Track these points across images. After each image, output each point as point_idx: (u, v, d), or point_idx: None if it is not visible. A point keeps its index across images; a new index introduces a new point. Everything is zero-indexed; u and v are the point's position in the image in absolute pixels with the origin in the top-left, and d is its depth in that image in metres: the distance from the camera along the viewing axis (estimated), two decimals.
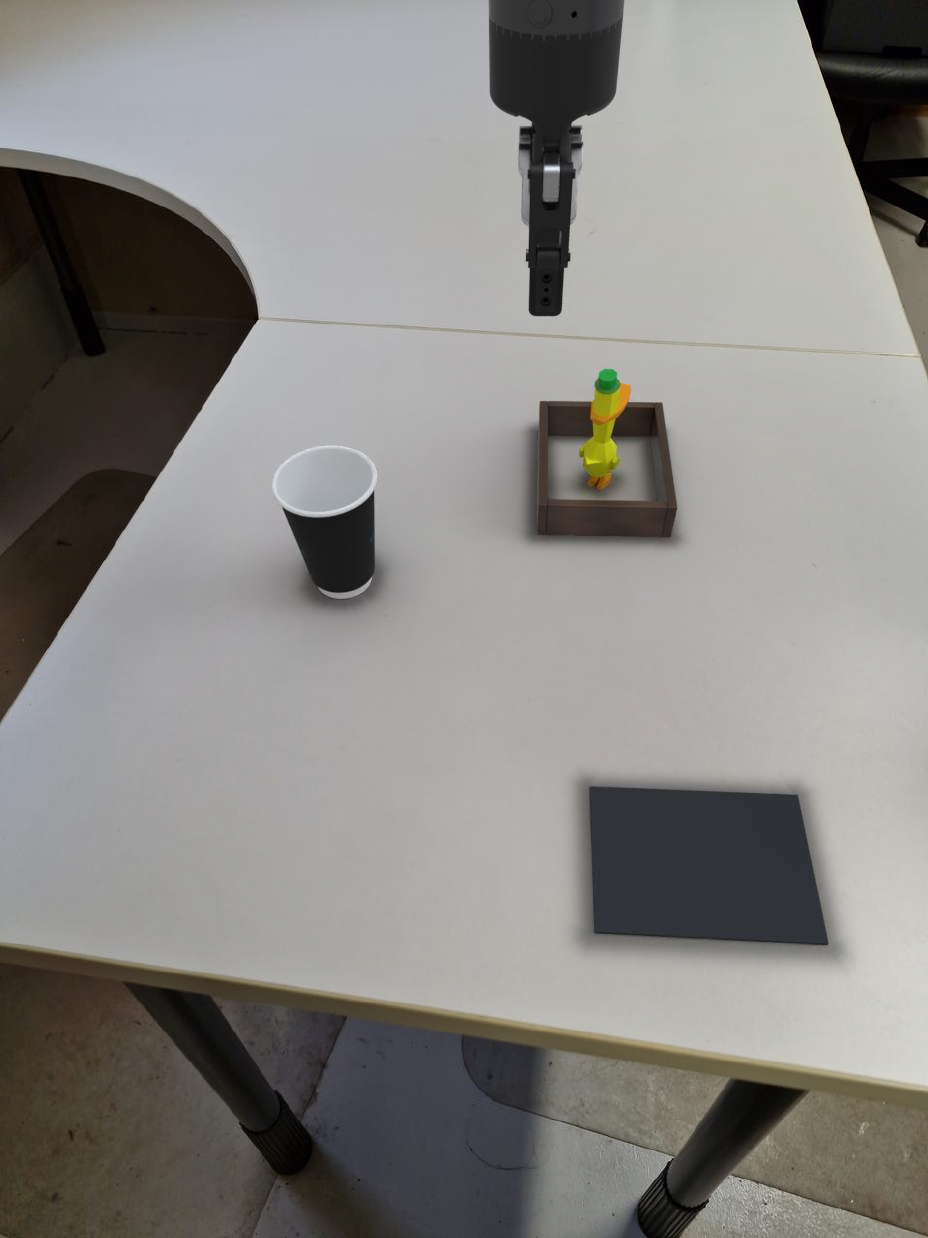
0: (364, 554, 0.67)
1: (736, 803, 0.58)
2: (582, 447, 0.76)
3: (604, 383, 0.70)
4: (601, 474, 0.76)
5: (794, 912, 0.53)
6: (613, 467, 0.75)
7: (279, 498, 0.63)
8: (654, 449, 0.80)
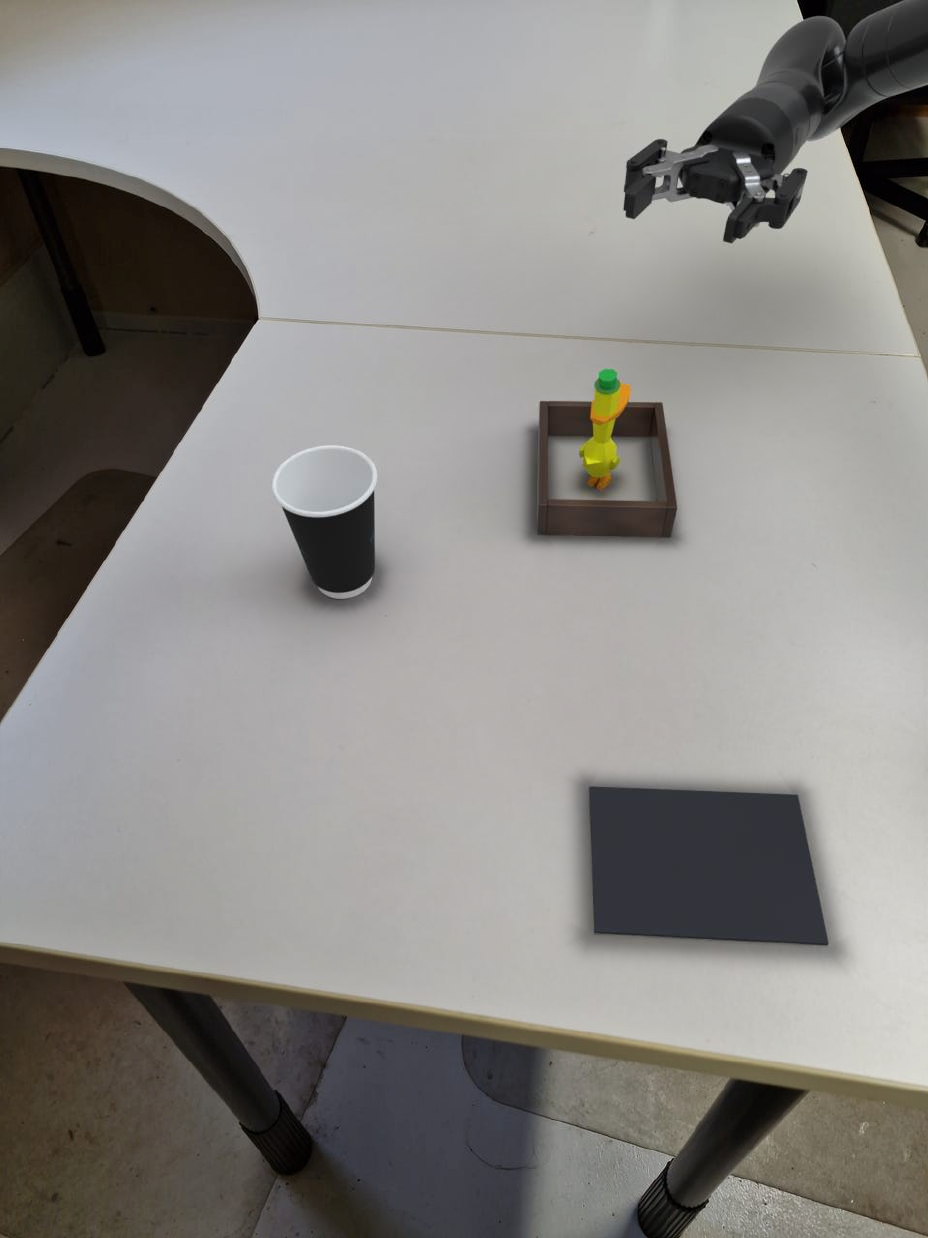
0: (364, 554, 0.67)
1: (736, 803, 0.58)
2: (582, 447, 0.76)
3: (604, 383, 0.70)
4: (601, 474, 0.76)
5: (794, 912, 0.53)
6: (613, 467, 0.75)
7: (279, 498, 0.63)
8: (654, 449, 0.80)
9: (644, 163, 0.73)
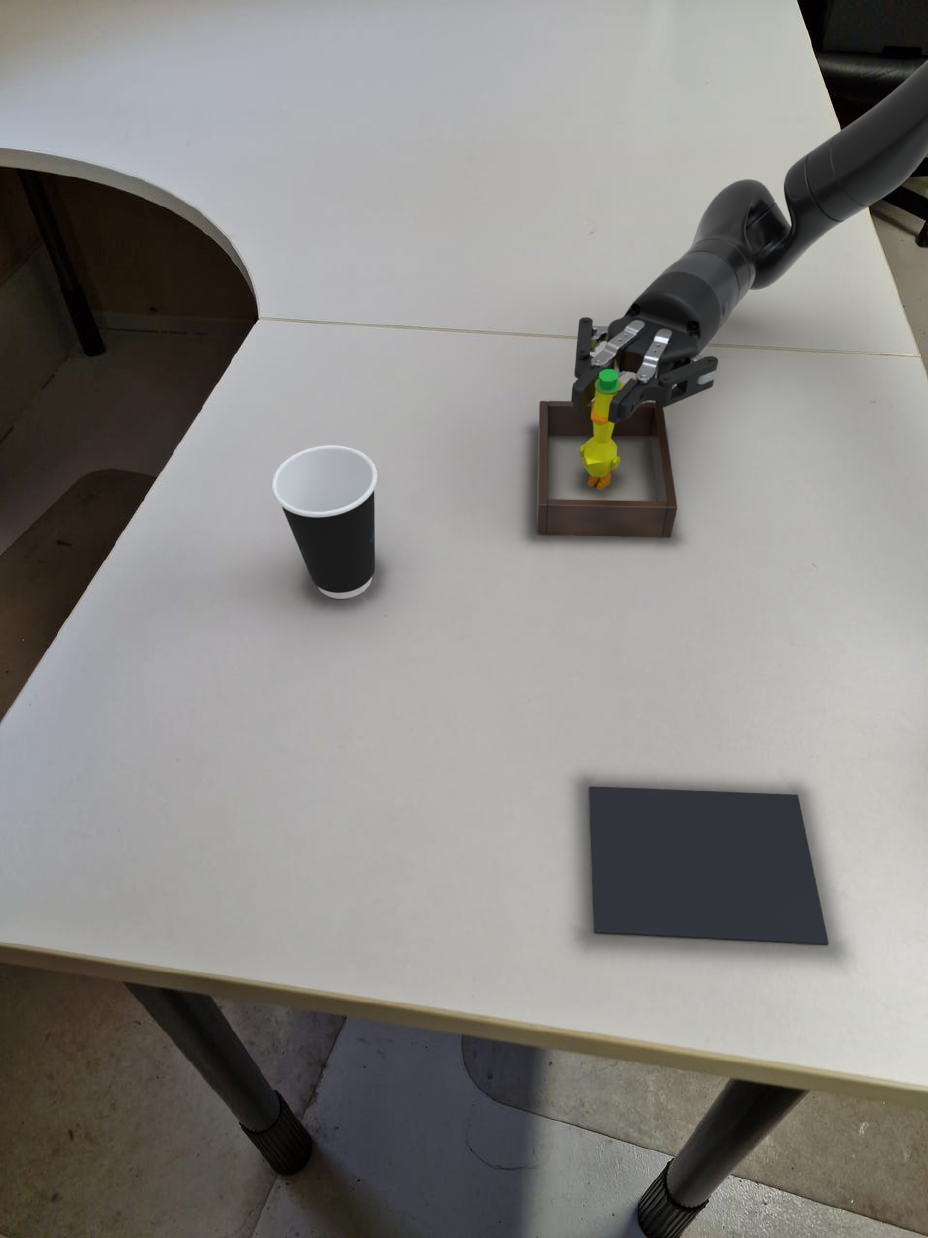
0: (364, 554, 0.67)
1: (736, 803, 0.58)
2: (582, 447, 0.76)
3: (605, 383, 0.70)
4: (601, 474, 0.76)
5: (794, 912, 0.53)
6: (613, 467, 0.75)
7: (279, 498, 0.63)
8: (654, 449, 0.80)
9: (590, 348, 0.74)
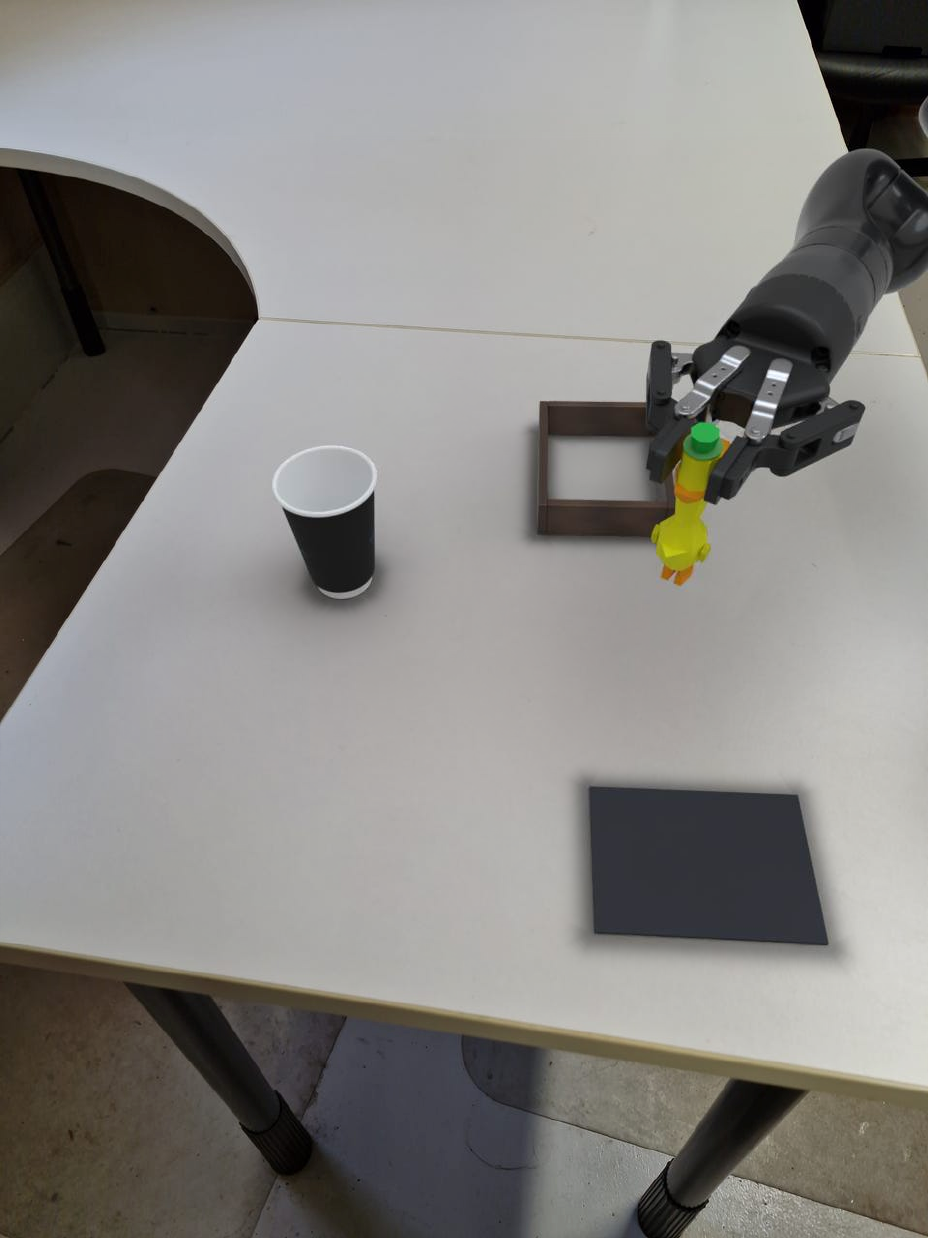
0: (364, 554, 0.67)
1: (736, 803, 0.58)
2: (656, 529, 0.53)
3: (700, 445, 0.46)
4: (683, 567, 0.53)
5: (794, 912, 0.53)
6: (702, 559, 0.52)
7: (279, 498, 0.63)
8: None
9: None
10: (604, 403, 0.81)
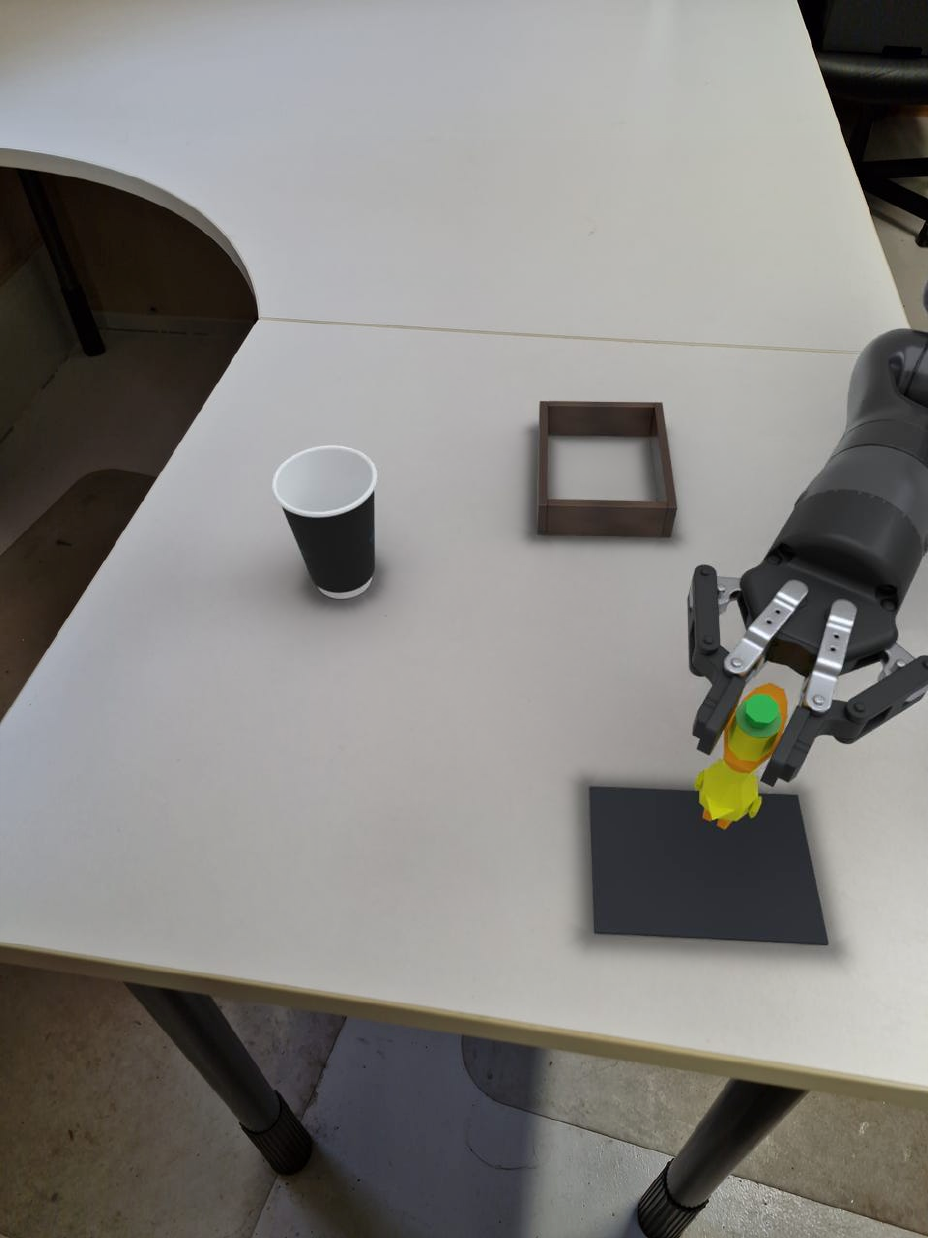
0: (364, 554, 0.67)
1: None
2: (700, 778, 0.47)
3: (756, 723, 0.40)
4: None
5: (794, 912, 0.53)
6: (752, 816, 0.46)
7: (279, 498, 0.63)
8: (654, 449, 0.80)
9: None
10: (604, 403, 0.81)
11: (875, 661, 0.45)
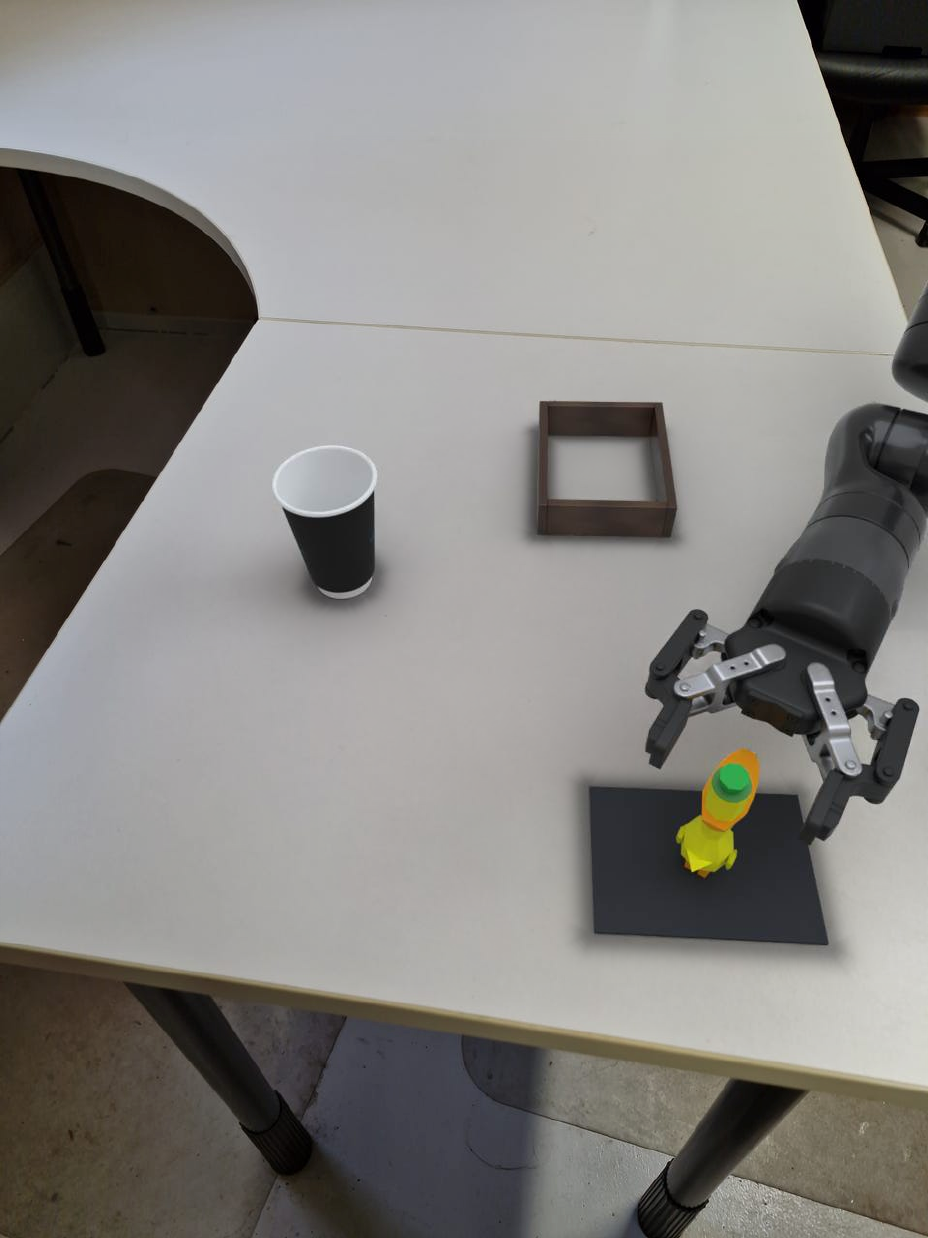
0: (364, 554, 0.67)
1: None
2: (681, 832, 0.52)
3: (729, 790, 0.45)
4: None
5: (794, 912, 0.53)
6: (728, 868, 0.51)
7: (279, 498, 0.63)
8: (654, 449, 0.80)
9: (675, 665, 0.50)
10: (604, 403, 0.81)
11: (847, 718, 0.49)
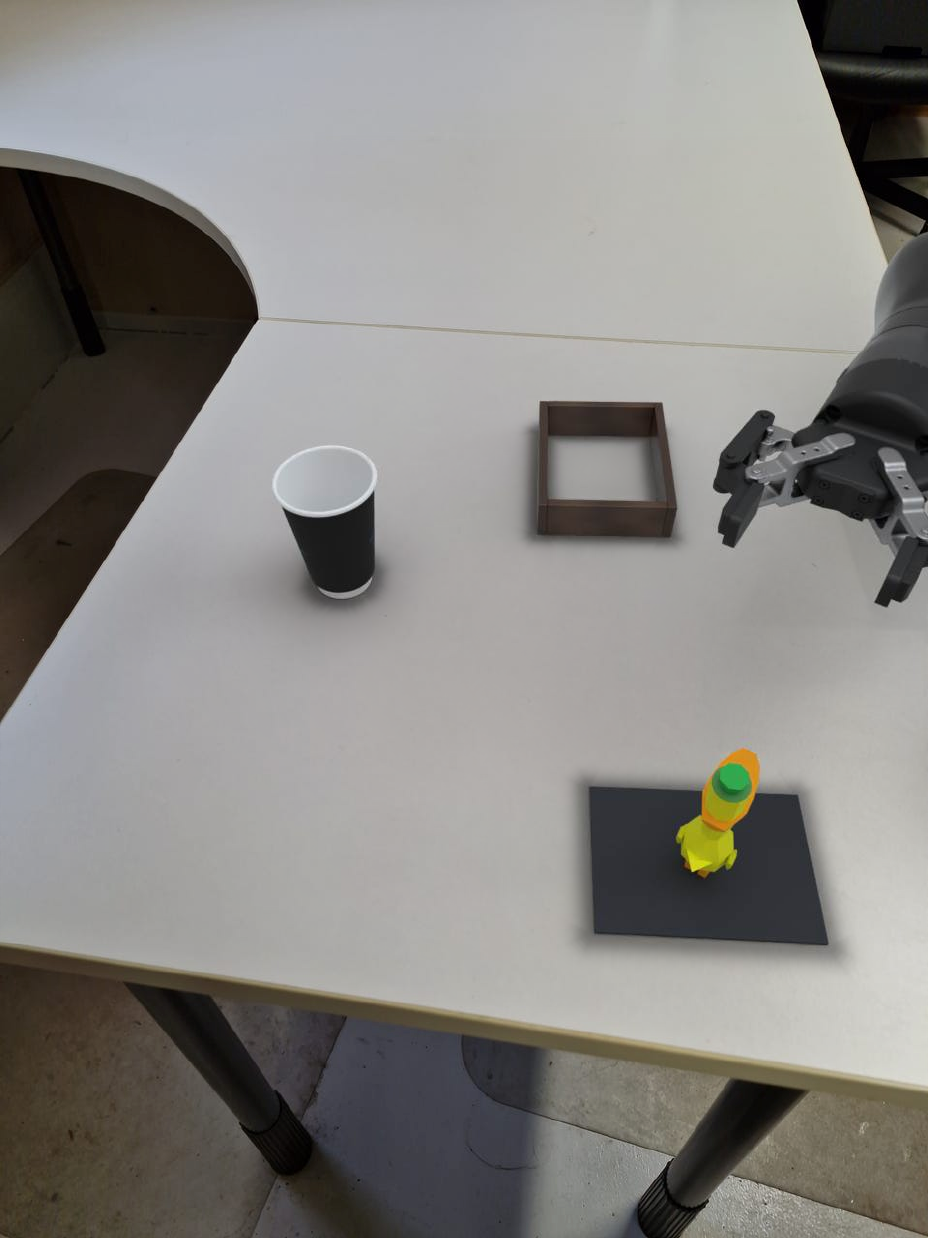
0: (364, 554, 0.67)
1: None
2: (681, 832, 0.52)
3: (729, 790, 0.45)
4: None
5: (794, 912, 0.53)
6: (728, 868, 0.51)
7: (279, 498, 0.63)
8: (654, 449, 0.80)
9: (745, 456, 0.51)
10: (604, 403, 0.81)
11: None
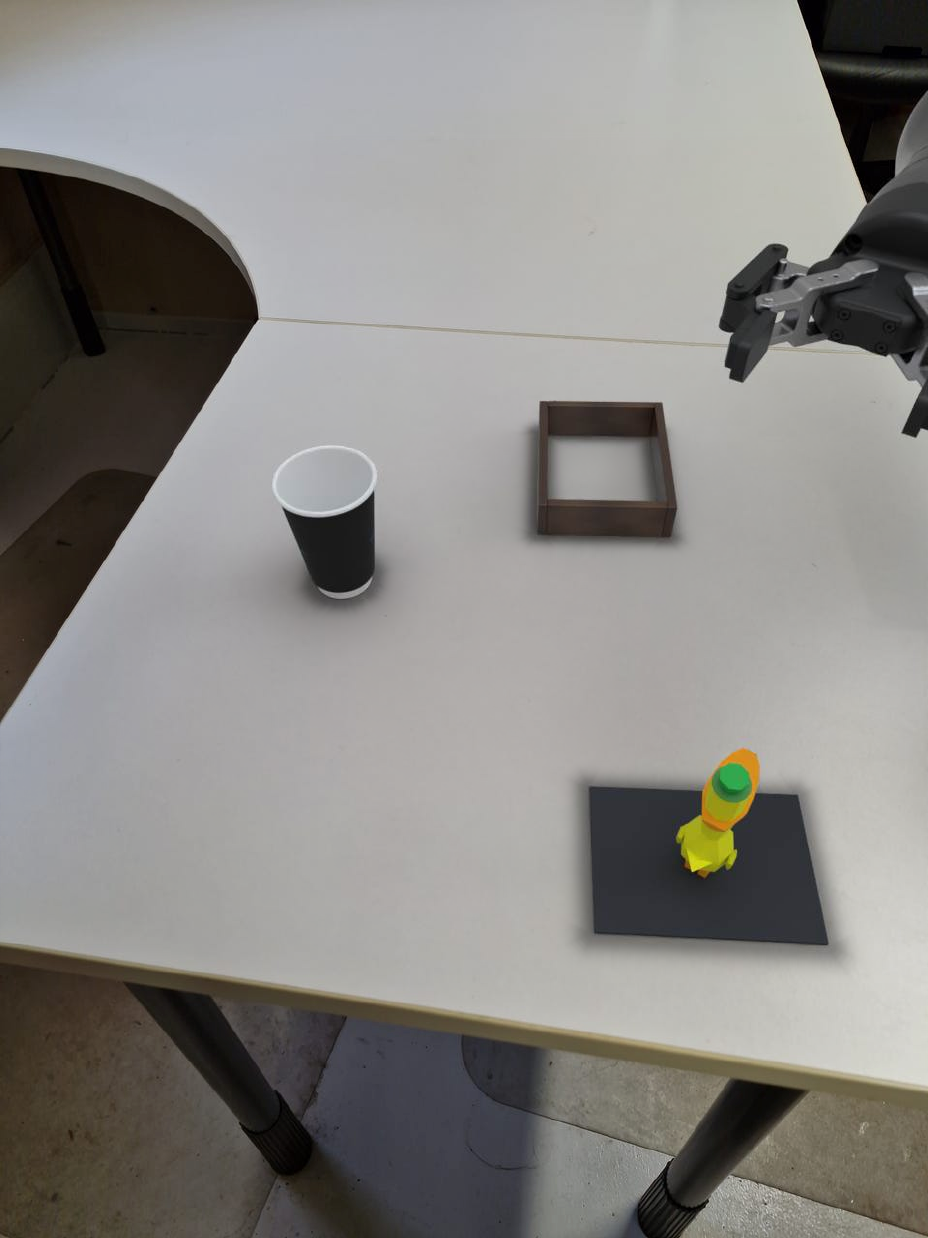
0: (364, 554, 0.67)
1: None
2: (681, 832, 0.52)
3: (729, 790, 0.45)
4: None
5: (794, 912, 0.53)
6: (728, 868, 0.51)
7: (279, 498, 0.63)
8: (654, 449, 0.80)
9: (755, 287, 0.45)
10: (604, 403, 0.81)
11: None
